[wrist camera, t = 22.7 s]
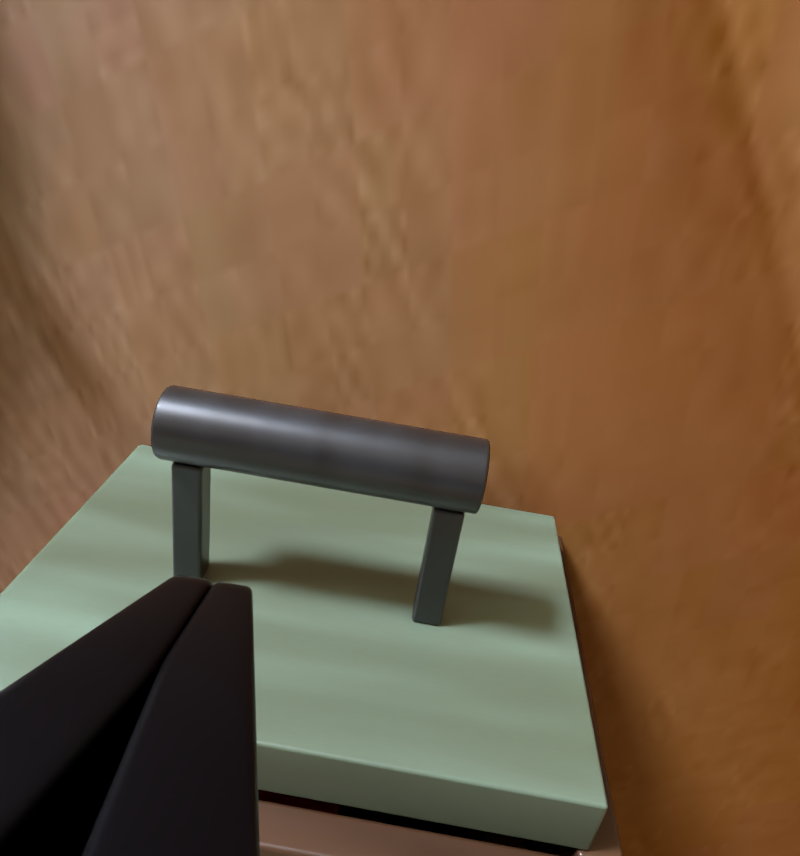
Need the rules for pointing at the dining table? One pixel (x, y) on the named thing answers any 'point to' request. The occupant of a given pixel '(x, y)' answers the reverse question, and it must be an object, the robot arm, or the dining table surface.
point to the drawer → (349, 611)
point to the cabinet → (411, 848)
